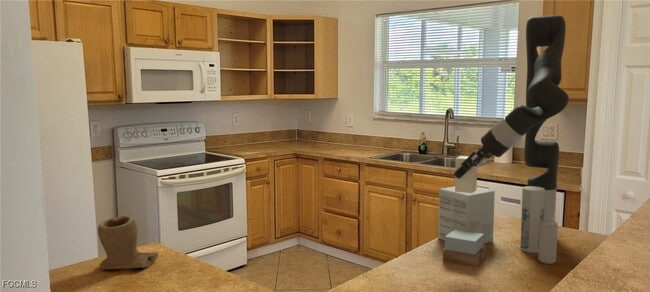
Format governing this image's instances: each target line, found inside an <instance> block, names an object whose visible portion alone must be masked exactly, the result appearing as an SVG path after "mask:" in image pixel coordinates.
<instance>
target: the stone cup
mask: <svg viewBox="0 0 650 292" xmlns="http://www.w3.org/2000/svg"><path fill="white" fill-rule="evenodd" d="M97 234H98V238H99V240H100V241H99V242H100V244H101V246H102V247H103V249H104V251H105V254H106V258H104V259H103V260H102V261H101V262H100V263H99V268H101V269H102V270H125V269H126V270H127V269H129V270H130V269H140V268H148V267H150V266H152V265H153V264H154V263H155V262H156V261H157V260H158V258H159V253H158V252H140V251H138V248H137V246H138V245H137V243H138V236H139V235H138V224H137V221H136V220H135V219H134V217H133V216H130V215H121V216H119V217H110V218H108V219H106V220H104V221H102V222H101V223H100V224H99V225H98V227H97Z"/></svg>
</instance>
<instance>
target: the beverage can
mask: <svg viewBox="0 0 650 292" xmlns="http://www.w3.org/2000/svg"><path fill="white" fill-rule="evenodd" d="M558 229H559V226H558V222H557V221H555V222H554V221H548V220H544V221H541V223H540V234H539V253H538V254H537V255H538V256H537V257H538V261H539V262H540V263H541V264H544V265H552V264H555V263H556V261H557V251H558V249H557V247H558Z"/></svg>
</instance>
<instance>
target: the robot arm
mask: <svg viewBox="0 0 650 292" xmlns="http://www.w3.org/2000/svg"><path fill="white" fill-rule="evenodd" d="M566 28H567V27H566V20H565V17H563V16H562V15H560V14H559V15H558V14H553V15H541V16H540V15H538V16H537V15H536V16H531V17H529V18H527V21H526V26H525V40H526V41H525V42H526V43H525V45H526V82H525V83H526V85H525V86H526V87H525V88H526V89H525V105H523V104H520V105H516V107H514V108H513V109H512V110H511V111H510V112H509V113H508V114H507V115H505V117H504V118H502V119H501V120H499V121H498V122H497V123H496V124H495V125H493V126H492V128H490V129H489V130H488V131H487V132H486V133H485V134H484V135H483V136H481V138H480V142H481V144H482V146H481V147H478V148H476V149H475V150H474V151H473V152H471V154H470V155H469V156H467V157H468V158H467V159H466V160H465V161H464V162H463V163H462V164H461V165H462V166H461V167H460V168H459V169H458V170H457V171H456V172H455V171H454V173H453V175H454V177H455V176H456V177H457V178H458V179H459V178H461V177H462V176H463V175H464V174H465V173H466V172H468V171H470V169H472V168H473V167H477V169H478V168H479V167H481V166H482V165H483V164H485V163H486V162H487V161H489V160H490V159H491V158H492V157H495V158H501V157H502V156H503V155H504V154H505V153H507V151H509V150H510V149H511V148H512V147H513V146H515V144H517V143H518V142H519V141H520V140H521V138H523V136H525V138H524V150H523V152H524V153H523V154H524V155H523V156H524V157H523V160H524V164H525V165H526V167H528V168H537V169H539V168H540V169H541V168H542V169H547V170H546V171H545V172H544V173H541V174H540V175H535V176H532V177H531V176H530V177H529V178H528V179H527V185H526V186H534V187H541V188H544V189H545V197H544V215H543V221H544V220H548V221H554V222H556V209H557V188H558V184H557V182H558V179H557V178H558V170H559V169H558V167H559V158H560V146H559V143H558V142H557V141H552V140H536V137H537V134H538V133H539V131H540V129H541V127H542V126H543V124H544V123H545V122H546V121H547V120H548V119H551V118H552V117H554V116H556V115H558V114H559V113H561V112H562V111H564V110H565V108H566V107H567V105H569V99H570V98H569V97H570V96H569V94H568V93H567V92H566V91H565V90H563V88H561V87H560V86H559V85H560V83H561V82H562V59H563V53H564V48H565V41H566V32H567V31H566V30H567V29H566ZM540 47H541V48H543V47H546V48H545V50H543V51H542V52H541V53H540V54H539V52H538V48H540ZM467 163H469V164H470V166H468V165H467ZM475 163H477V164H475Z"/></svg>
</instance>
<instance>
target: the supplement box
mask: <svg viewBox="0 0 650 292" xmlns="http://www.w3.org/2000/svg"><path fill="white" fill-rule="evenodd" d="M495 193H496V191H495V190H493V189H489V188H488V189H487V188H483V187H478V186H477V188H476V191H474V192H473V193H464V192H455V185H454V186H449V187H448V186H447V187H443V188H438V225H437V226H438V227H437V238H438V239H440V240H442V241H445V236H447V235H448V234H449V233H451V232H452V231H453V230H455V229H457V230H463V231H470V232H476V233H483V234H484V244H487V243H490V242H493V241H494V225H495V223H494V220H495Z"/></svg>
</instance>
